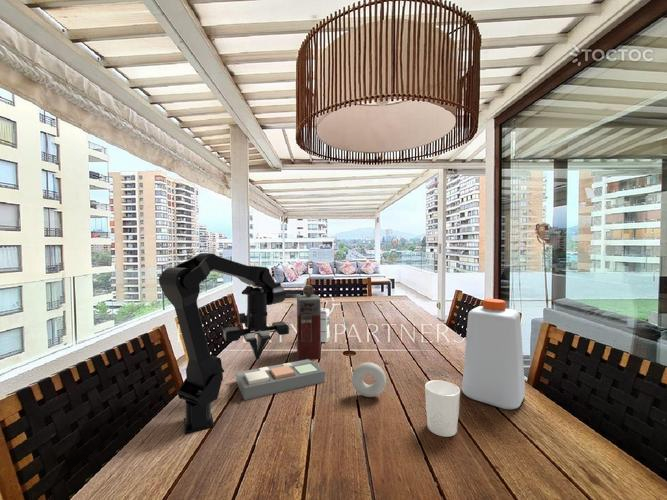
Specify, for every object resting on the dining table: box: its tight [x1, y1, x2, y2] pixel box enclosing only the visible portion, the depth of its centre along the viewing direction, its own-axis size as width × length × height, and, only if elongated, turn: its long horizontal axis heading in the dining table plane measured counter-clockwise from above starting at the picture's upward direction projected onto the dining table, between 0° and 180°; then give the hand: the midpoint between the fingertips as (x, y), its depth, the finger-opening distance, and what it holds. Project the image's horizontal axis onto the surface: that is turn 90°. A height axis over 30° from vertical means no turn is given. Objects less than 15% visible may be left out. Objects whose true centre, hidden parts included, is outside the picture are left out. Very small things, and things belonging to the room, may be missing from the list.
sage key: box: [294, 364, 318, 375], centre depth 101 cm, size 6×6×2 cm
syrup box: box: [321, 307, 331, 344], centre depth 141 cm, size 6×6×14 cm
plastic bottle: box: [461, 298, 526, 410], centre depth 90 cm, size 15×15×28 cm
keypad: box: [235, 359, 325, 401], centre depth 99 cm, size 13×25×4 cm, turn 117°
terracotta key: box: [270, 365, 294, 380], centre depth 97 cm, size 6×6×2 cm
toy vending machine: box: [296, 284, 322, 361], centre depth 122 cm, size 9×11×28 cm
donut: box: [351, 361, 387, 398], centre depth 90 cm, size 10×4×10 cm, turn 82°
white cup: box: [424, 379, 461, 438], centre depth 74 cm, size 8×8×10 cm
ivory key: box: [245, 370, 269, 385], centre depth 94 cm, size 6×6×2 cm
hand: (257, 359), depth 93 cm, fingers closed
